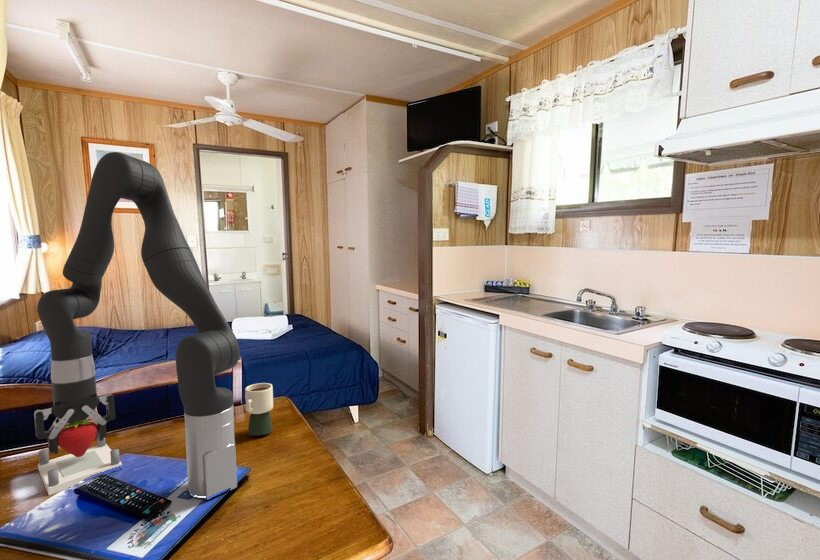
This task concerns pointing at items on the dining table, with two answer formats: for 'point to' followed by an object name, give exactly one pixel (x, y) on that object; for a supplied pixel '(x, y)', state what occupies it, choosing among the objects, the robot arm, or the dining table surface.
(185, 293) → the robot arm
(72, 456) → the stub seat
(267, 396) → the character mug
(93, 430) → the strawberry
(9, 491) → the dining table surface
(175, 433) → the dining table surface
